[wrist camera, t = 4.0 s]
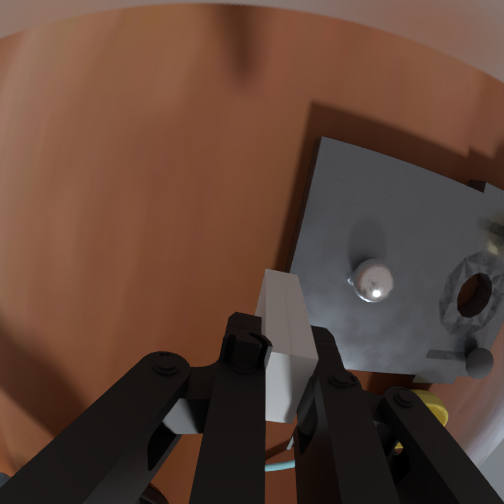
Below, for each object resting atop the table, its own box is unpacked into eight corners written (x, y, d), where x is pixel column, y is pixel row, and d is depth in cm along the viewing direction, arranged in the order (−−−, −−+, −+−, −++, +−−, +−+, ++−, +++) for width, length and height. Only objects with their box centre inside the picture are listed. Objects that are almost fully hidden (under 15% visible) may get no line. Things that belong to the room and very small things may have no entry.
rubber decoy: (455, 367, 26) (469, 385, 23) (469, 341, 25) (484, 357, 22) (474, 368, 26) (488, 384, 23) (488, 342, 25) (503, 358, 22)
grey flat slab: (263, 350, 29) (263, 366, 26) (318, 126, 23) (324, 122, 21) (461, 371, 29) (471, 383, 27) (524, 206, 24) (539, 210, 21)
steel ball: (343, 288, 24) (353, 306, 21) (354, 249, 23) (367, 262, 20) (379, 295, 24) (392, 312, 21) (391, 257, 23) (407, 271, 20)
